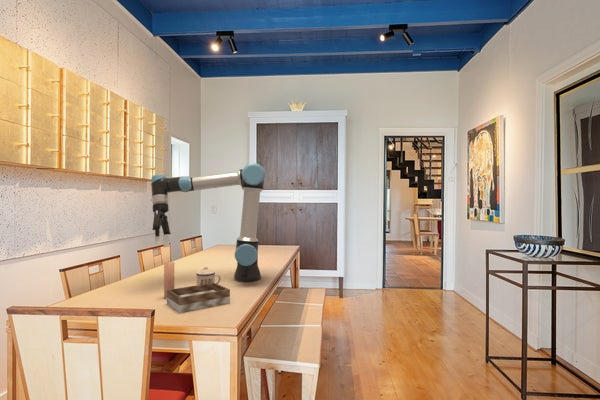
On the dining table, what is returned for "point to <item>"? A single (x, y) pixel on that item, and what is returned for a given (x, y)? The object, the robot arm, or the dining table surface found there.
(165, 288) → the peg
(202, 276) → the teacup with lid
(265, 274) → the dining table surface
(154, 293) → the dining table surface
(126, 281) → the dining table surface
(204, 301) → the box
